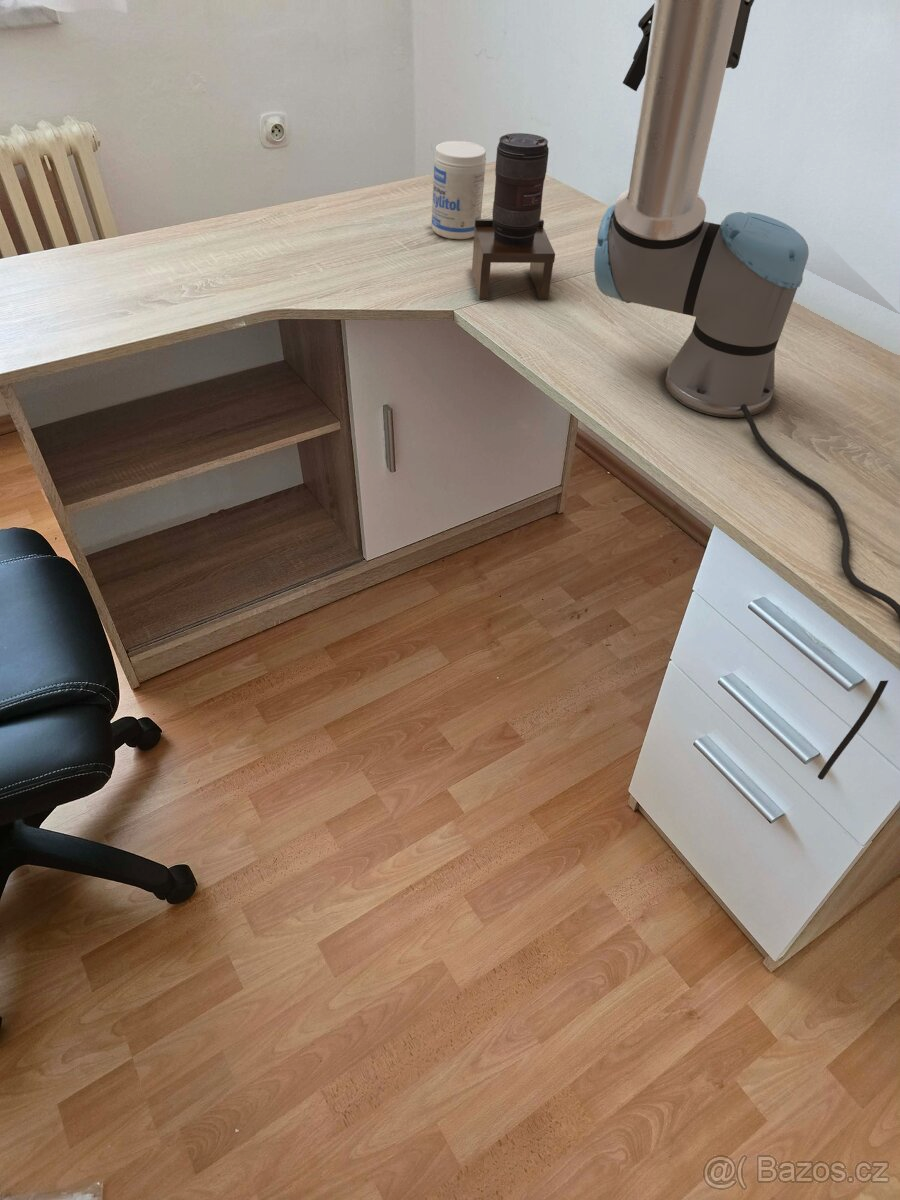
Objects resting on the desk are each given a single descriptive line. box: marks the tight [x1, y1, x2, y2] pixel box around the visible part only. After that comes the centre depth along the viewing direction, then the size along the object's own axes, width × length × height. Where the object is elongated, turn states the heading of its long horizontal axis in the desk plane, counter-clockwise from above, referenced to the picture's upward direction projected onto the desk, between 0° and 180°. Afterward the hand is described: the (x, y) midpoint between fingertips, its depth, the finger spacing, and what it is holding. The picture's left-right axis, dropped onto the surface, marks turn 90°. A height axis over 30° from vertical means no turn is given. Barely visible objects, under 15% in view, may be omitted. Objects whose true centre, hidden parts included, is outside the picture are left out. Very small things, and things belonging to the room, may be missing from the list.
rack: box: [471, 218, 556, 301], centre depth 134 cm, size 12×12×9 cm
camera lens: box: [492, 132, 550, 246], centre depth 127 cm, size 8×8×15 cm
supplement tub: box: [431, 140, 487, 240], centre depth 148 cm, size 10×10×15 cm
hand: (656, 100), depth 118 cm, fingers open, 13 cm apart
